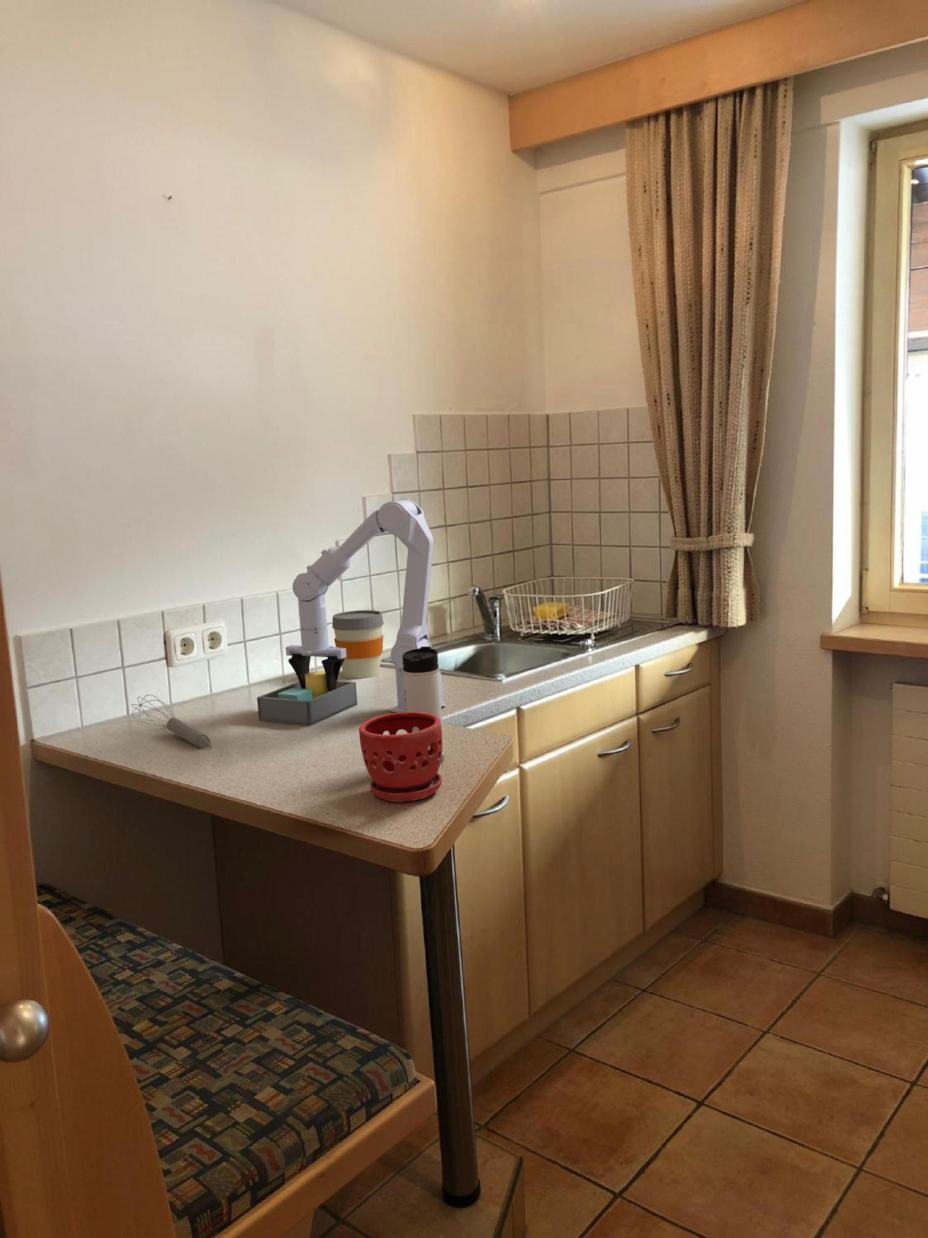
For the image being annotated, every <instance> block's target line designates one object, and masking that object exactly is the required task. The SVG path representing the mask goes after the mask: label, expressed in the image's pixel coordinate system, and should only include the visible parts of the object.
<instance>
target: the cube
mask: <svg viewBox="0 0 928 1238" xmlns="http://www.w3.org/2000/svg"><path fill="white" fill-rule="evenodd" d="M278 698H280V699H291V700H303V701H309V700H311V699H313V698H312V690H311V689H299V688H291V689H289V690H286V691H284V692H281V693H278Z"/></svg>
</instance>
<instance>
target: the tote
mask: <svg viewBox="0 0 928 1238" xmlns="http://www.w3.org/2000/svg"><path fill="white" fill-rule="evenodd" d="M291 688H299V689H302V688H301V685H300V683H299V681H296V682H294V683H291V684H288V685H285V686H283V687H280V688H278V689H275V690H273V691H270V692H268V693H265V694H263V695H260V696H257V698H256V701H257V712H258V721H259V722H260V721H261V722H269V723H281V724H289V725H290V724H291V725H298V726H299V725H300V726H313V725H315V724H317V723H320V722H323V721H324V720H326V719H329V718H331V717H334V716H335V715H337V714H340V713H341V712H344V711H347V710H349V709H350V708H353V707H355V706H357V705H358V696H357V682H355V681H346V680H345V681H343V680H342V681H341V680H337V685H336V689H335V690H333V691H330V692H328V693H326V694H323V695H321V696H319V697H316V698H314V699H311V700H309V701H303V700H291V699H280V698H278V693H281V692H284V691H286V690H289V689H291Z"/></svg>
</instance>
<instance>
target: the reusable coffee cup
mask: <svg viewBox="0 0 928 1238" xmlns="http://www.w3.org/2000/svg"><path fill="white" fill-rule="evenodd" d="M331 625H332V627H331V628H332V629H333V631H334V635H335V636H334V637H335V638H334V640H333V641H334V644H335V647H338V648H346V657H345V658H344V662H343V664H342V666H341V670H342V675H343V677H344V678H346V679H355V680H357V679H367V678H373V677H376V676H378V675H380V673H381V671H380V670H381V655H382V654H383V651H384V650H383V649H384V635H383V625H384V617H383V612H382V611H380V610H369V609H368V610H367V609H366V610H365V609H363V610H361V609H360V610H348V611H344V612H343V611H342V612H338V613H336V614H333V615H332V624H331Z"/></svg>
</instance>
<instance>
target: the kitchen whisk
mask: <svg viewBox="0 0 928 1238" xmlns="http://www.w3.org/2000/svg"><path fill="white" fill-rule="evenodd" d="M148 696H149V694H146V695H144V697H141V696H138V697H137V702H138V704H136V703H132V704H131V705H130V706H132V708H134V710H133V711H132V715H131V716H132V717H133V718H134V720H136V721H139V722H140V723H141V722H142V723H143V724H148V725H153V726H158V724H156V723H151V722H150V723H149V722H146V721H142V720H141V718H140V717H141V716H138V718H136V717H135V716H134V712H135V710H138V712H142V713H144V714H145V715H146V716H147V718H149V717H152V718H155V719H157V720H159V721H161V722H164V723H166V725H164V724H159V727H160V729H159V730H166V729H168V731H170V732H172V733H174V734H176V736H179V737H181V738H182V739H184V740H185V741H187V742H189V743H190V744H193V745H194V746H196V747H197V748H200V749H207V748H209V747H210V748H209V750H211V749H212V746H211V739H210V737H209V736H208V735H206V734H205V733H203V732H201V731H199V730H198V729H196V728H194V727H192V726H190V725H189V724H187V723H185V722H183V721H182V720H180V719H179V718H175V714H174V713H173V712H172V710H171V708H170V707H169V705H167V704H166V703H165V702H163V701H161V700H160V699H159V698H158V697H157V696H155V695H153V694H151V697H154V698H155V699H151V700H146V699H145V698H146V697H148ZM139 698H140V699H141V702H140V700H139ZM144 700H145V702H143V701H144ZM152 701H154V702H155V701H157V702H160V703H161V704H162V706H163V707H164V708H165V709H166V711H167V712H168V714H169V715H170V716H169V715H167V714H166V713H164V712H162V711H161V710H159V708H157V707H156V706H155V705H153V704H152V703H151V702H152ZM146 703H149V705H151V706H152V707H150V706H147V705H144V704H146ZM134 705H135V706H137V707H135V706H134ZM143 707H145V708H148V709H153V710H155V711H157V712H159V713H160V714H162V715H163V716H164V717H165V718H166V719H167V721H165V720H163V719H161V718H158V717H157V716H154V715H152V714H148V713H147V712H146V711H145V710H144V708H143ZM167 708H168V709H167ZM142 710H143V711H142ZM169 710H170V711H169ZM140 720H141V721H140ZM161 726H162V727H164V726H166V727H164V728H162V727H161Z"/></svg>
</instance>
